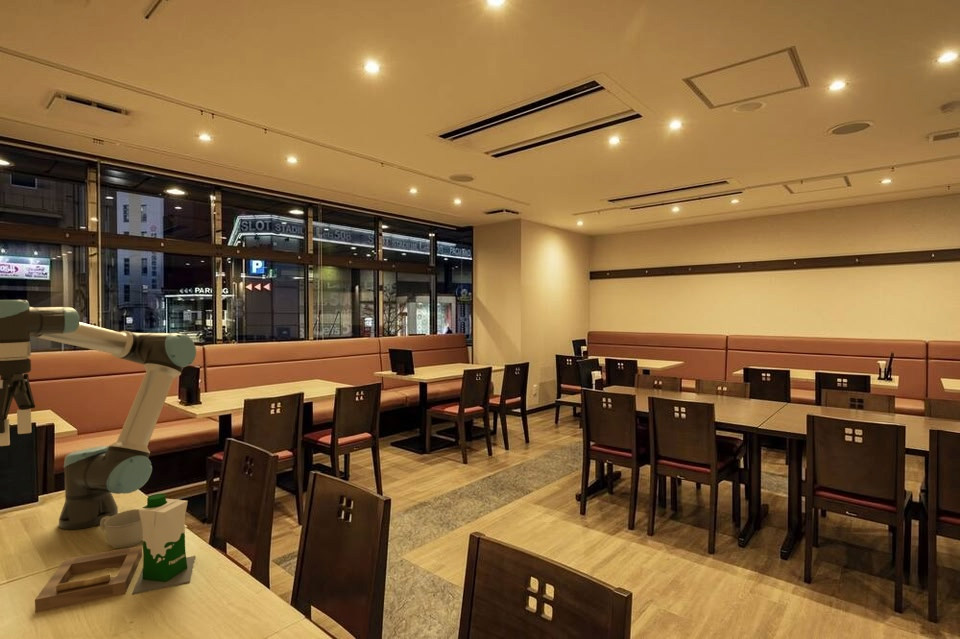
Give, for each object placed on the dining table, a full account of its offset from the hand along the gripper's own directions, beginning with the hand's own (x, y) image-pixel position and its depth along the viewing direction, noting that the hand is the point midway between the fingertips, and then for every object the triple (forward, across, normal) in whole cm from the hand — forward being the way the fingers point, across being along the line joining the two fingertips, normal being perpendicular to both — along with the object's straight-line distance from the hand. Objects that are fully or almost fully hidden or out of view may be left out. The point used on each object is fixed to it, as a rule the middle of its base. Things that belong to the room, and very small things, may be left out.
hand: (14, 439), depth 130 cm
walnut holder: (+35, +16, +20) cm, 43 cm away
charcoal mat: (+35, +20, +36) cm, 54 cm away
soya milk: (+34, +20, +36) cm, 54 cm away
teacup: (+35, -6, +22) cm, 42 cm away
